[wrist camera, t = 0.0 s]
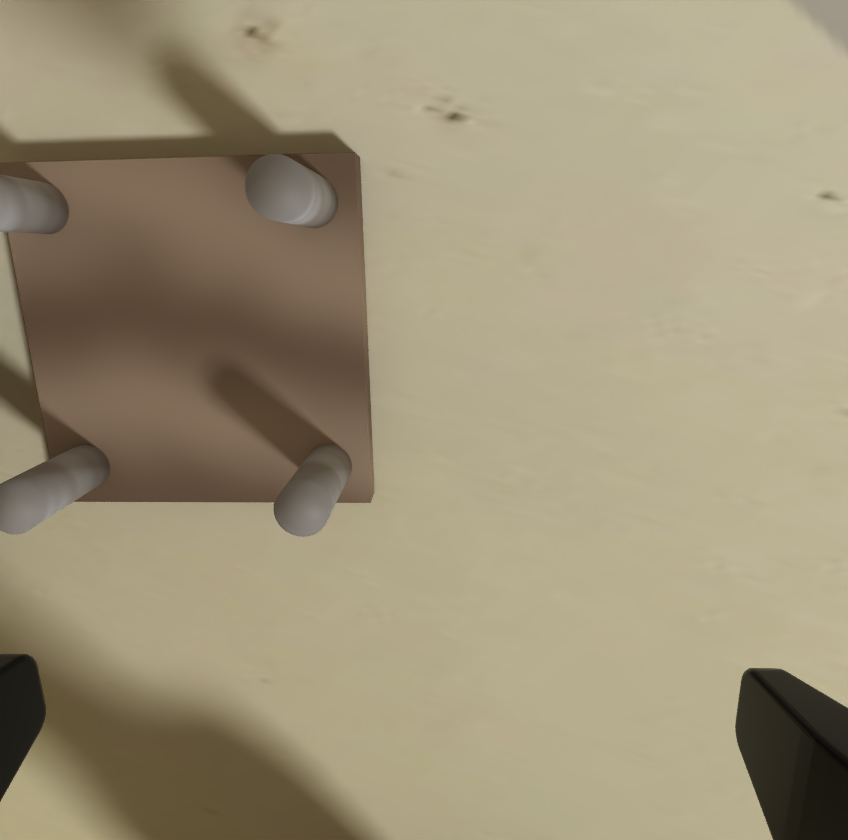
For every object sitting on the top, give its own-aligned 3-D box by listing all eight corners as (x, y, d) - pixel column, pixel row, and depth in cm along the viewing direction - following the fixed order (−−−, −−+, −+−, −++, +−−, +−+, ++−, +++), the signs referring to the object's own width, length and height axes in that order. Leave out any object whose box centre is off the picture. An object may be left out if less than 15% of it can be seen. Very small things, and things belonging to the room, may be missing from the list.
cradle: (374, 492, 23) (351, 555, 18) (74, 491, 24) (-26, 551, 19) (360, 157, 20) (327, 125, 15) (16, 167, 21) (-120, 140, 16)
